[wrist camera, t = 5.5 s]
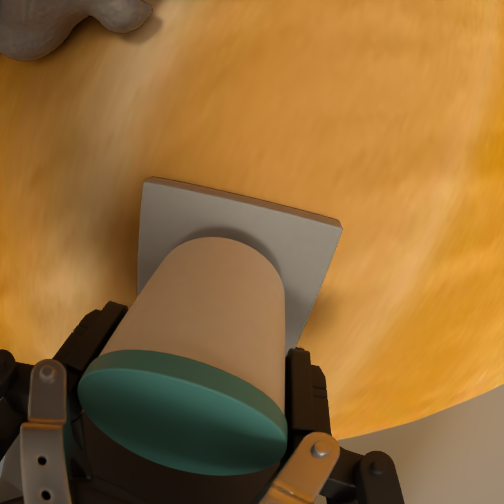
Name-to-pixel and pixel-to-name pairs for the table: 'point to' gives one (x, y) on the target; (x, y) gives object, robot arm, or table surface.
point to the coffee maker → (296, 313)
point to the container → (198, 364)
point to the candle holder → (12, 473)
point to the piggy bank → (60, 22)
